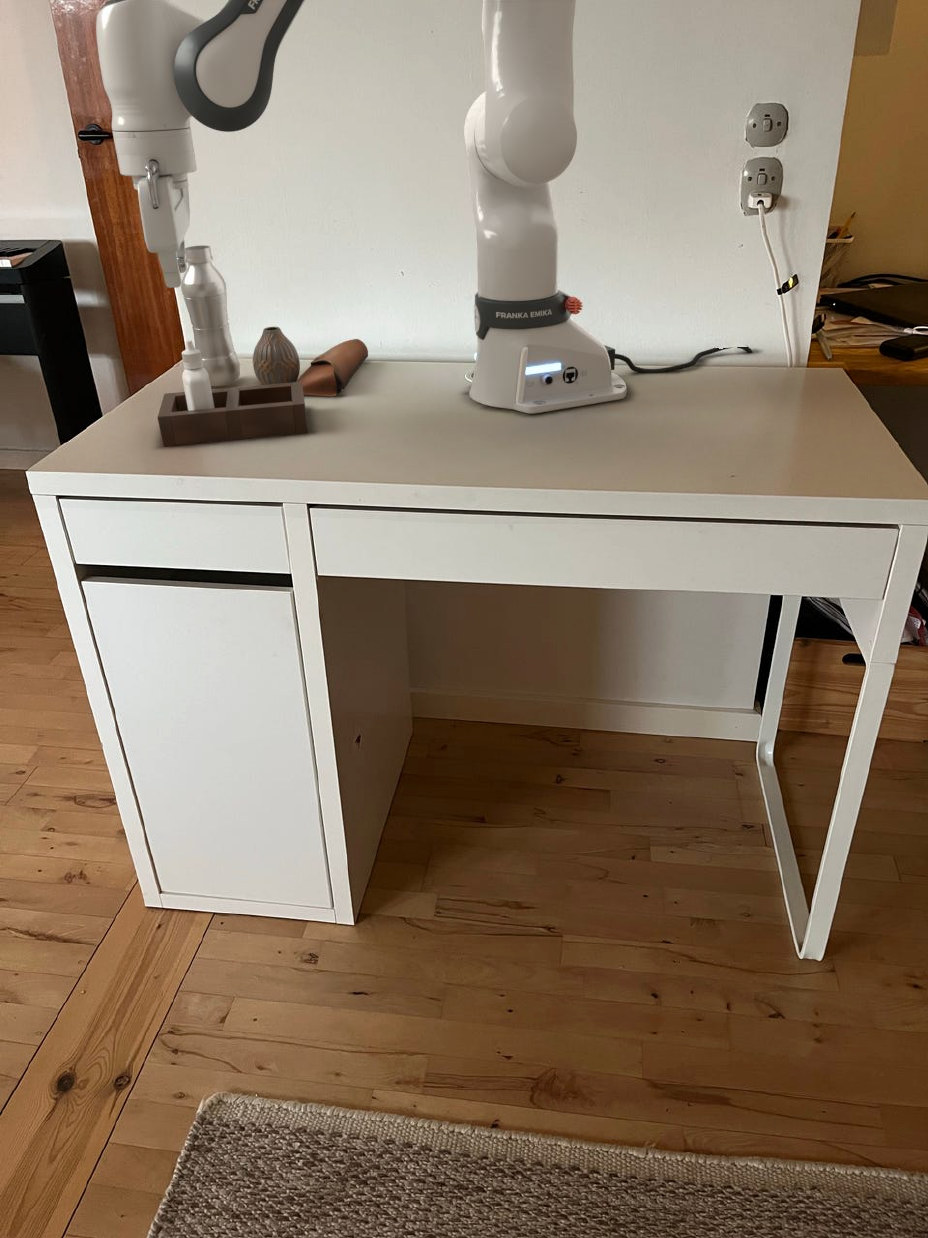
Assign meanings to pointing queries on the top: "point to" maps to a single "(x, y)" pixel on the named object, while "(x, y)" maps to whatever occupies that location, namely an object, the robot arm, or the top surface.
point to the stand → (234, 414)
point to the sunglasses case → (333, 369)
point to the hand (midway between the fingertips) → (177, 278)
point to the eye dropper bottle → (196, 380)
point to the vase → (275, 358)
